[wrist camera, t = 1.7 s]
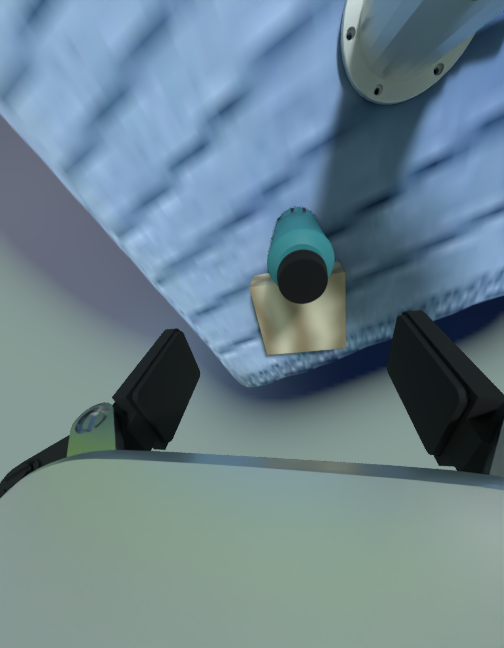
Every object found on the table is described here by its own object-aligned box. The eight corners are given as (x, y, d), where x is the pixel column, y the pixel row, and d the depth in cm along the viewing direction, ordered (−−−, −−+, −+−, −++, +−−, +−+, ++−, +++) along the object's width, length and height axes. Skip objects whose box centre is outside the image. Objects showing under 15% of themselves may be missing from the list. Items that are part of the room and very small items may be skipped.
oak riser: (338, 260, 35) (345, 271, 31) (340, 331, 42) (346, 348, 38) (253, 275, 38) (249, 287, 34) (269, 338, 46) (267, 355, 42)
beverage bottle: (309, 195, 31) (334, 220, 14) (323, 240, 34) (356, 304, 17) (266, 217, 33) (245, 260, 17) (283, 258, 36) (279, 328, 20)
